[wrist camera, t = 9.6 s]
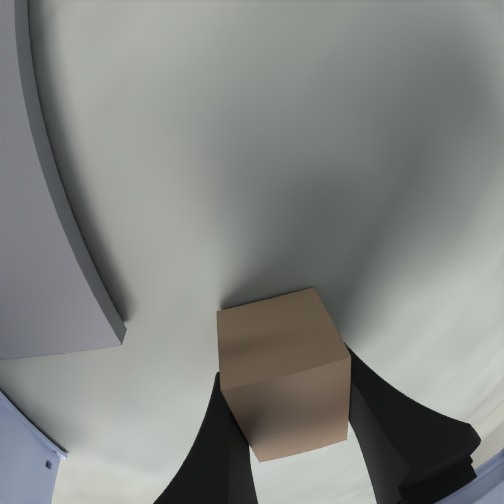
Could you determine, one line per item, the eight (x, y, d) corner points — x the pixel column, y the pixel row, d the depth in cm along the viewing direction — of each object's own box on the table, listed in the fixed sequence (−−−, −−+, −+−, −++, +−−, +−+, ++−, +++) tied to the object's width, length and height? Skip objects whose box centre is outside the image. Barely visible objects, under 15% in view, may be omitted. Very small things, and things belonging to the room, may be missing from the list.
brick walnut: (323, 378, 15) (346, 439, 11) (249, 396, 15) (259, 462, 11) (314, 286, 12) (351, 356, 8) (216, 311, 12) (220, 390, 8)
